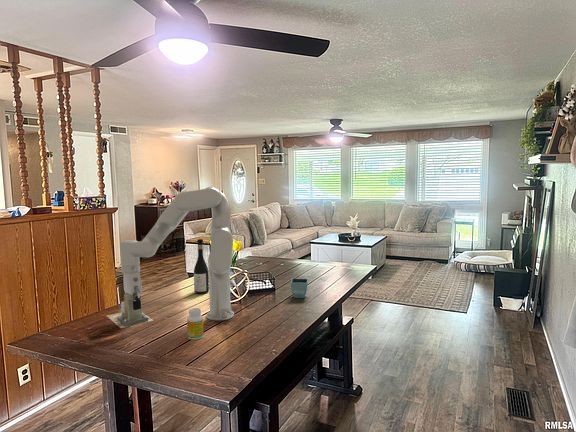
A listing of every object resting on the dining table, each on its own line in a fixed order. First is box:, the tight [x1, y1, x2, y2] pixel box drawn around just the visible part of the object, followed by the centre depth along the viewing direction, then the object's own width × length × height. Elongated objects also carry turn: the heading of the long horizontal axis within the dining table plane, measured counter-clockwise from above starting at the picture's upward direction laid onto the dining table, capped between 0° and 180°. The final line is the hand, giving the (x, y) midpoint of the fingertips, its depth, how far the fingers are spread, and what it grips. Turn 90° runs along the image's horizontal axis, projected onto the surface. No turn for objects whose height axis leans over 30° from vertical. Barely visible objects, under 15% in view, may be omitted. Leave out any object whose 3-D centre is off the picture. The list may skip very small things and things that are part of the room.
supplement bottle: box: [186, 307, 205, 341], centre depth 161 cm, size 6×6×11 cm
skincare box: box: [123, 293, 143, 322], centre depth 175 cm, size 6×4×12 cm
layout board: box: [106, 311, 153, 329], centre depth 180 cm, size 20×14×3 cm
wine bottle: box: [193, 238, 209, 295], centre depth 222 cm, size 8×8×30 cm
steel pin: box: [120, 300, 125, 316], centre depth 184 cm, size 3×3×6 cm
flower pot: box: [290, 278, 309, 299], centre depth 213 cm, size 9×9×9 cm
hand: (133, 306), depth 175 cm, fingers open, 9 cm apart
